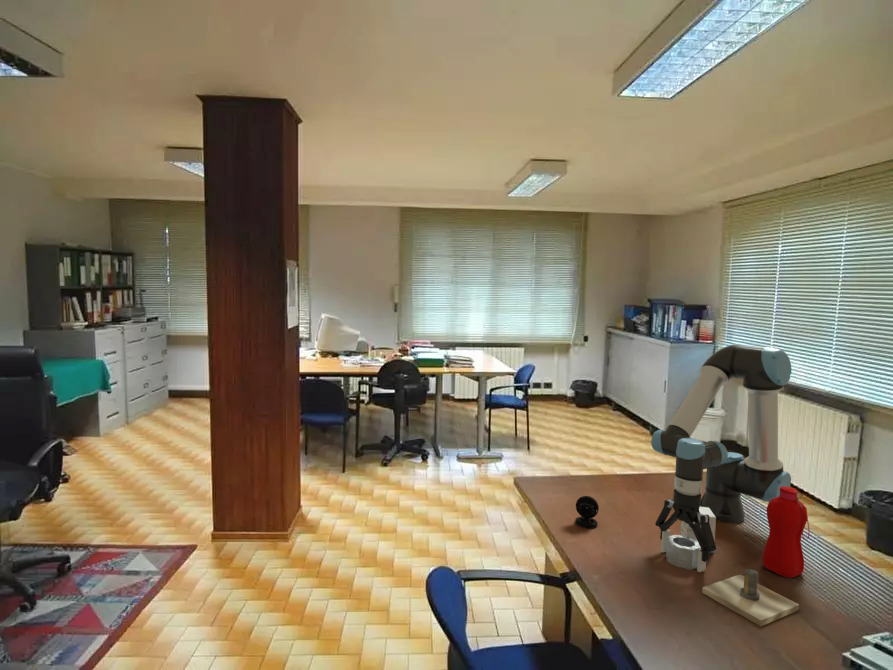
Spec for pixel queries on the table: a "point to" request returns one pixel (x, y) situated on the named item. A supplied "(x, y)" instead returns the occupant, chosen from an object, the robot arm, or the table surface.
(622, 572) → the table surface
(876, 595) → the table surface
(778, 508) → the water bottle
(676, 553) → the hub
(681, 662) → the table surface
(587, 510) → the webcam
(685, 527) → the ink box
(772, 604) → the shaft block
